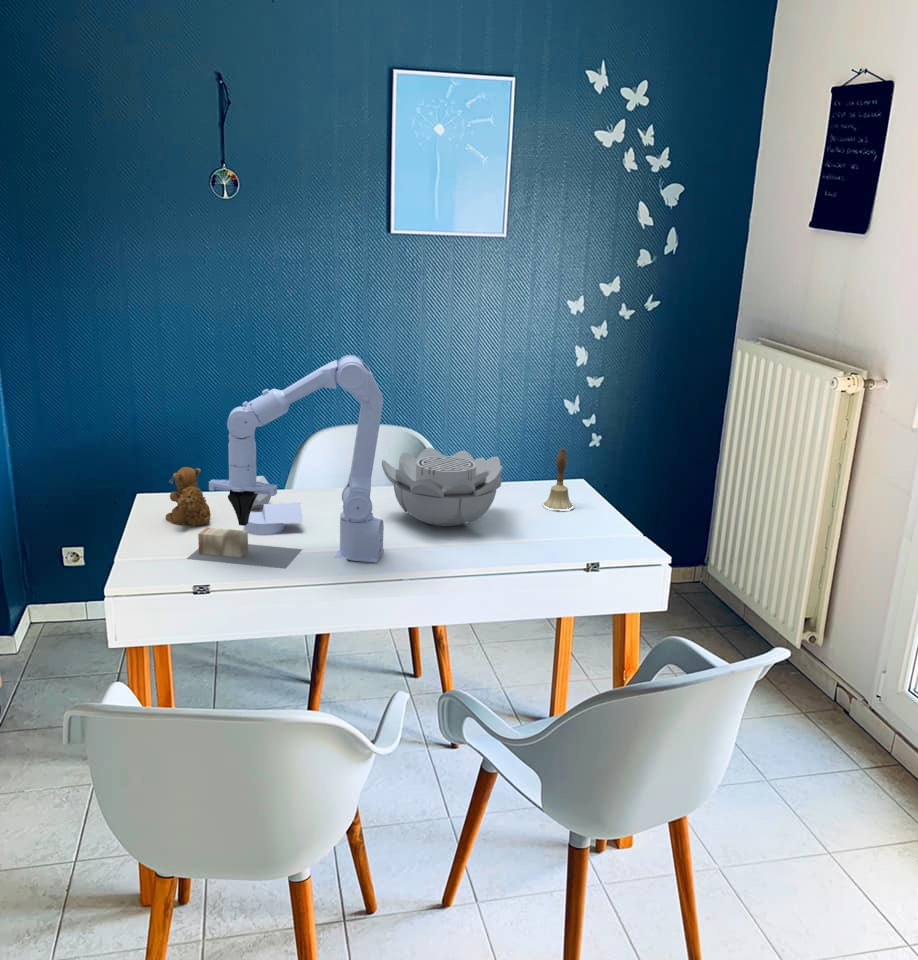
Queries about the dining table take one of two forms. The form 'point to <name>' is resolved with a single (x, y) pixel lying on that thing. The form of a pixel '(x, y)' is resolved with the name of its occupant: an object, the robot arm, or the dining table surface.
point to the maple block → (223, 542)
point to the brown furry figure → (188, 500)
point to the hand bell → (559, 486)
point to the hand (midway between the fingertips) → (243, 524)
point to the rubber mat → (255, 556)
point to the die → (261, 495)
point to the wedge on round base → (273, 518)
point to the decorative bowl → (445, 486)
